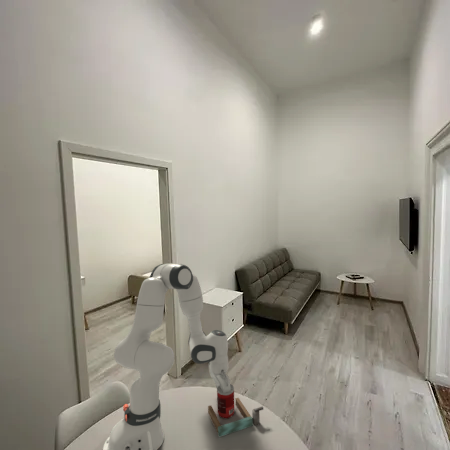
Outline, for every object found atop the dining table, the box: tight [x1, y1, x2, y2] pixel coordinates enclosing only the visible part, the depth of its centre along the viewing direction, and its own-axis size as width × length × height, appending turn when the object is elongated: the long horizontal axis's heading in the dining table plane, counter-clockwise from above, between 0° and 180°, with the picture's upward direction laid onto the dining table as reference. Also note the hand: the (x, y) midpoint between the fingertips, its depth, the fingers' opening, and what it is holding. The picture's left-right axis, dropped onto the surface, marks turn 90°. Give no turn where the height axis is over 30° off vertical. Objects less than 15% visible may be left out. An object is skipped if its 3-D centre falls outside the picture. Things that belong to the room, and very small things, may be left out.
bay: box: [207, 397, 264, 438], centre depth 113 cm, size 20×15×6 cm
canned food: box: [216, 383, 235, 419], centre depth 116 cm, size 8×8×11 cm
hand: (219, 394), depth 123 cm, fingers closed
